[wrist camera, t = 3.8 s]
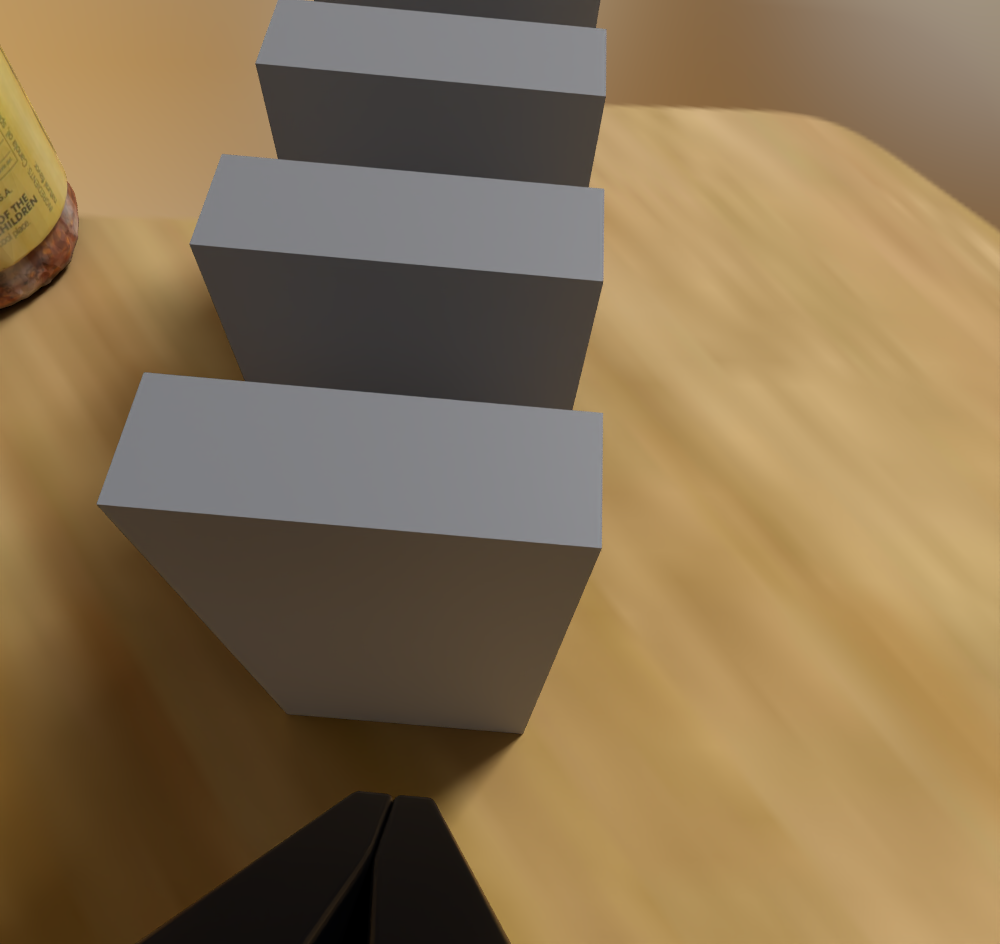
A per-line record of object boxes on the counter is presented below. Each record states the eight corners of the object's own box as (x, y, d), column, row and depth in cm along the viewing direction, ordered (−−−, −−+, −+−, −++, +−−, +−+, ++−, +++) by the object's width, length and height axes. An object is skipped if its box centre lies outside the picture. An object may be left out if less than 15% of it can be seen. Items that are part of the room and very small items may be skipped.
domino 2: (538, 450, 20) (605, 96, 11) (342, 432, 20) (255, 63, 11) (541, 398, 21) (606, 29, 12) (352, 381, 21) (278, -3, 12)
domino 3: (531, 578, 18) (602, 280, 9) (317, 560, 18) (189, 243, 9) (534, 516, 19) (604, 188, 10) (330, 498, 19) (221, 154, 10)
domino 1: (544, 341, 22) (607, -40, 13) (364, 325, 22) (303, -70, 13) (547, 296, 22) (607, -92, 14) (372, 281, 22) (320, -120, 14)
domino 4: (523, 734, 16) (601, 548, 8) (286, 714, 16) (96, 504, 8) (527, 659, 17) (602, 413, 8) (301, 639, 17) (144, 372, 8)
